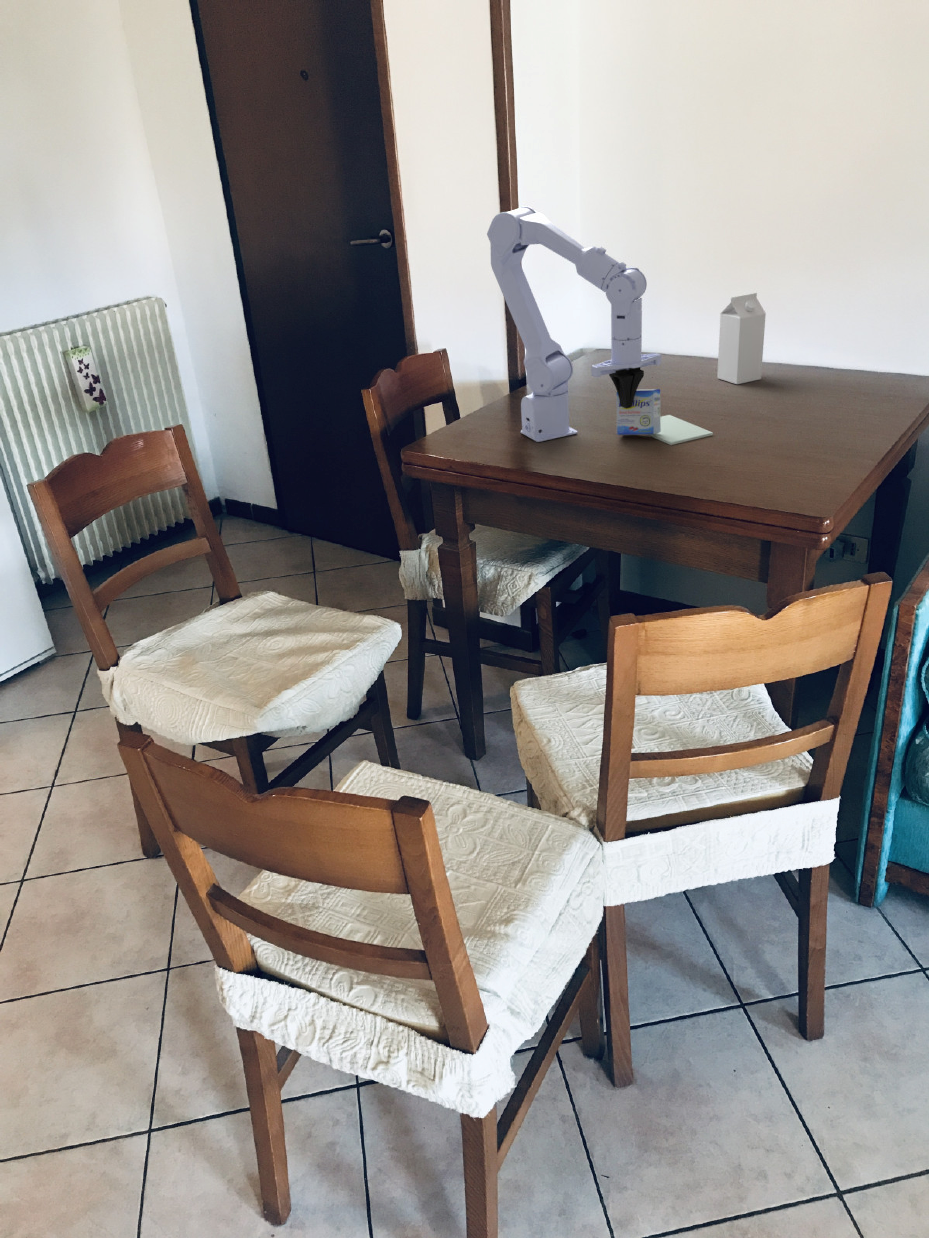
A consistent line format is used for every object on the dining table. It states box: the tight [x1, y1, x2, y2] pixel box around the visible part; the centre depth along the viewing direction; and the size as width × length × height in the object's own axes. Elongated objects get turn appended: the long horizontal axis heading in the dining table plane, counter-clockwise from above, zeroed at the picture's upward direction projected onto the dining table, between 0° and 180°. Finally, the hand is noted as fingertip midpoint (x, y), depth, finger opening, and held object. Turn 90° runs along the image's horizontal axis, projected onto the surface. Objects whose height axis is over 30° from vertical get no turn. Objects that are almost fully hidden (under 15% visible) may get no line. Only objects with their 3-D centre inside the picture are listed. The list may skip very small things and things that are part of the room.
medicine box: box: [615, 388, 661, 436], centre depth 191 cm, size 8×4×9 cm, turn 62°
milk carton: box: [716, 292, 766, 385], centre depth 219 cm, size 7×7×19 cm
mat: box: [648, 414, 714, 446], centre depth 195 cm, size 10×15×1 cm, turn 24°
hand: (626, 407), depth 188 cm, fingers closed
